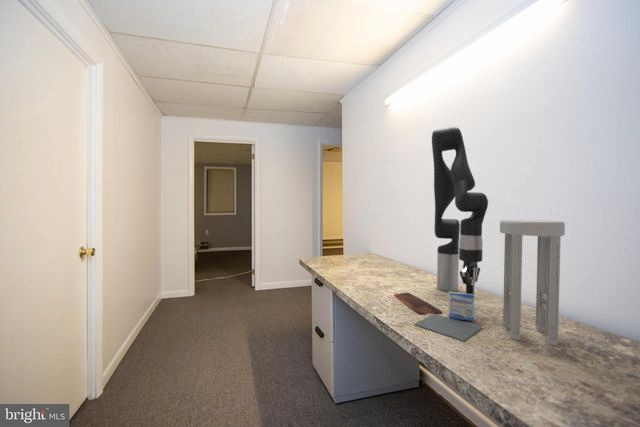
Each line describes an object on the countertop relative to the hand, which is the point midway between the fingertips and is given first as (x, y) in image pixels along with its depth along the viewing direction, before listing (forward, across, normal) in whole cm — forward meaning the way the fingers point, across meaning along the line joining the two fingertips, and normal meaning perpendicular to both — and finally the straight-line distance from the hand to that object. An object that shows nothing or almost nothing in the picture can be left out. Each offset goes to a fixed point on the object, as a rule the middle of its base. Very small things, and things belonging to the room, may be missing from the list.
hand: (469, 294), depth 107 cm
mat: (+7, +17, 0) cm, 19 cm away
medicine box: (+7, +7, 0) cm, 10 cm away
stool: (+7, +4, +19) cm, 21 cm away
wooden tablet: (+8, +3, -20) cm, 22 cm away
